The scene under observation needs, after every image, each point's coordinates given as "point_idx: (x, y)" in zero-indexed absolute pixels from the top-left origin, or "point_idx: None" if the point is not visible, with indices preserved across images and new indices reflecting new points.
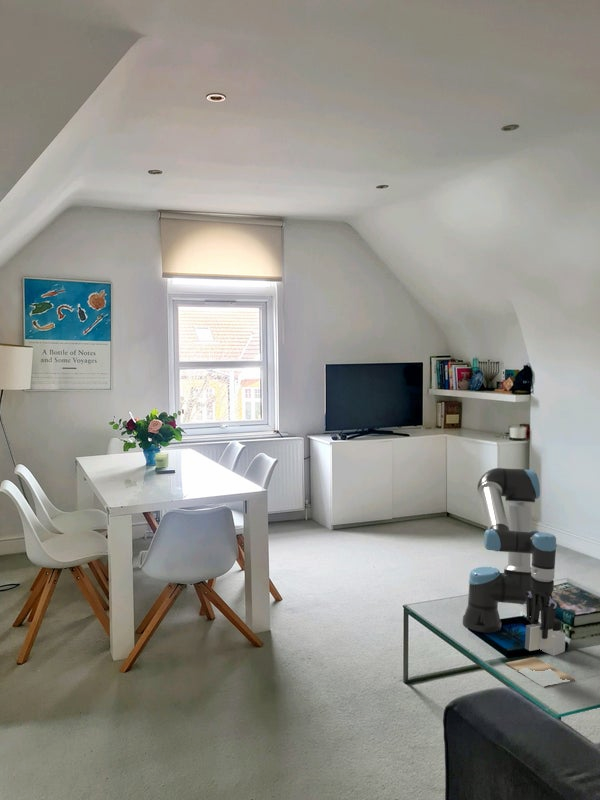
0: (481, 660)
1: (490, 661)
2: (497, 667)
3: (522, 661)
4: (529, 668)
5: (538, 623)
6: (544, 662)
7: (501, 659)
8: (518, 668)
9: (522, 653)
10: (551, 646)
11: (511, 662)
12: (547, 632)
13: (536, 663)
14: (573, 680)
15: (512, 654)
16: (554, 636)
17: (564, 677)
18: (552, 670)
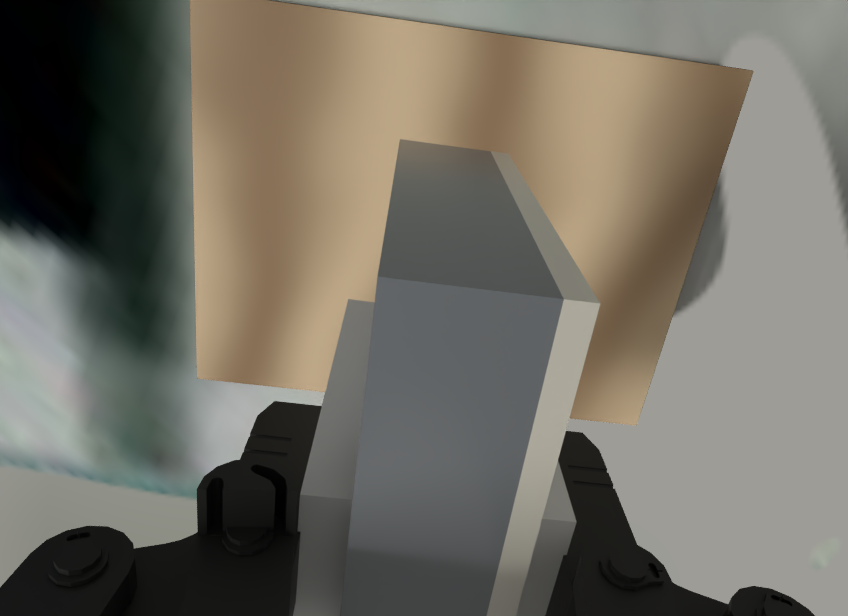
0: (78, 475)
1: (115, 431)
2: (225, 459)
3: (231, 218)
4: (371, 281)
5: (346, 578)
6: (343, 15)
7: (109, 327)
8: (326, 362)
9: (43, 12)
10: (508, 156)
11: (210, 326)
12: (623, 526)
13: (323, 125)
14: (743, 87)
15: (39, 143)
16: None
17: (666, 135)
18: (511, 111)
